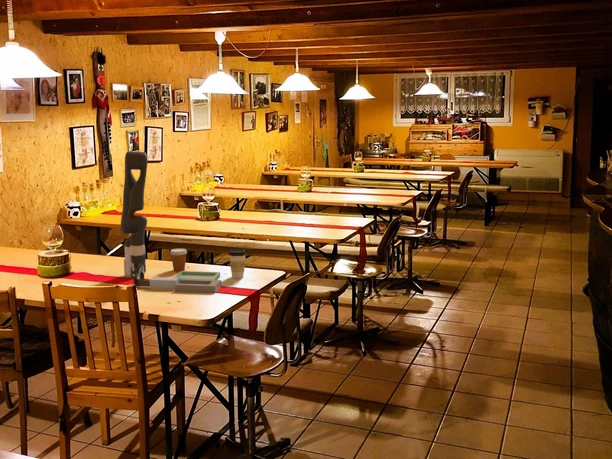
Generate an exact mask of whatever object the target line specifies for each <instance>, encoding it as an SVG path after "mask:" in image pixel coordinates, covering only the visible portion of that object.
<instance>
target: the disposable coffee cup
mask: <svg viewBox="0 0 612 459" xmlns="http://www.w3.org/2000/svg"><path fill="white" fill-rule="evenodd" d="M169 253H170V256H171V262H172V268H173V269H172V270H173V271H174V272H179V273H180V272H181V271H186V258H187V253H188V251H187V249H186V248H172V249H171V250H170V252H169Z"/></svg>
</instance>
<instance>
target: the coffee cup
mask: <svg viewBox="0 0 612 459" xmlns="http://www.w3.org/2000/svg"><path fill="white" fill-rule="evenodd" d="M228 255H229V256H228V258H229V264H230V273H231V278H232V279H236V280H237V279H243V278H244V272H245V267H246V255H247V251H246V250H245V249H243V248H242V249H240V248H235V249H230V250H229V252H228Z"/></svg>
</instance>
